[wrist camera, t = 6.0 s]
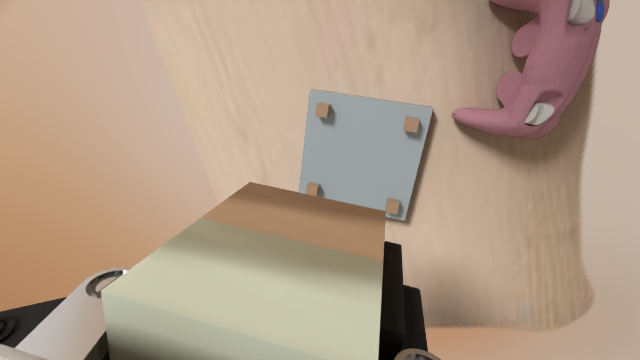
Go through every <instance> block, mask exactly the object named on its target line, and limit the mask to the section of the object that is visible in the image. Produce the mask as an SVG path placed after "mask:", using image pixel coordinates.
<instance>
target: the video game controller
mask: <svg viewBox="0 0 640 360" xmlns="http://www.w3.org/2000/svg"><path fill="white" fill-rule="evenodd" d="M490 1H492V2H493V3H496V4H498V5H500V6H503V7H507V8H512V9H516V10H521V11H529V12H534V13H536V14H537V17H536V18H535V19H533V20H532V21H530V22H528V23H527V24H525V25H523V26H522V27H521V28H520V29H519V30H518V31H517V32H516V34H515V36H514V38H513V41H512V53H513V54H514V55H515V56H516V57H521V58H526V59H527V60H526V63H525V66H524V70H523V73H522V72H519V71H509V72H507V73H506V74H505V75H504V76H503V77H502V78H501V79H500V81H499V83H498V85H497V88H496V95H497V97H498V99H499V100H500V101H501V102H502V104H503V105H504V106H505V107H504V108H502V109H493V110H487V109H473V108H465V109H458V110H455V111H454V112H453V113H452V117H453V118H454V119H455V120H456V121H458V122H460V123H461V124H463V125H466V126H470V127H473V128H476V129H479V130H482V131H485V132H489V133H493V134H499V135H506V136H512V137H521V138H540V137H543V136H545V135H546V134H548V133H549V132H550V131H552V130H553V129H554V128H555V127H556V125H557V124H558V123H559V121H560V119H561V116H562V113H563V111H564V110H565V109H566V108H567V107H568V105H569V104H570V102H571V101H572V99H573V98H574V97H575V95H576V93H577V91H578V90H579V88H580V86H581V84H582V83H583V81H584V79H585V76H586V74H587V72H588V70H589V68H590V65H591V63H592V60H593V57H594V55H595V52H596V48H597V45H598V41H599V37H600V32H601V25H602V22H603V20H604V19H605V17H606V15H607V12H608V8H609V0H490Z"/></svg>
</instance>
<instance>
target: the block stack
mask: <svg viewBox="0 0 640 360" xmlns="http://www.w3.org/2000/svg"><path fill="white" fill-rule="evenodd" d="M385 218H386V211H383V210H378V209H373V208H369V207H364V206H359V205H355V204H350V203H345V202H341V201H336V200H331V199H327V198H322V197H317V196H313V195H308V194H303V193H299V192H294V191H289V190H285V189H280V188H275V187H271V186H266V185H261V184H256V183H252V182H249V183H248V184H247V185H245V186H244V187H243V188H241V189H240V190H238V191H237V192H236V193H234V194H233V195H232V196H230V197H229V198H227V199H226V200H225V201H223V202H222V203H221V204H219V205H218V206H216V207H215V208H214V209H212V210H211V211H210V212H208V213H207V214H206V215H204V216H203V217H202V218H200V219H199V220H197V221H196V222H194V223H193V224H192V225H190V226H189V227H188V228H186V229H185V230H183V231H182V232H181V233H179V234H178V235H177V236H175V237H174V238H172V239H171V240H170V241H168V242H167V243H166V244H164V245H163V246H162V247H160V248H159V249H158V250H156V251H155V252H153V253H152V254H150V255H149V256H148V257H146V258H145V259H144V260H142V261H141V262H139V263H138V264H137V265H135V266H134V267H133V268H131V269H130V270H128V271H127V272H126V273H124V274H123V275H122V276H120V277H119V278H117V279H116V280H115V281H113V282H112V283H111V284H109V285H108V286H106V287H105V288H104V289H102V290H101V296H102V303H103V310H104V318H105V325H106V333H107V340H108V348H109V355H110V360H378V354H379V335H380V315H381V296H382V276H383V257H384V237H385Z"/></svg>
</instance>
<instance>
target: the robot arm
mask: <svg viewBox="0 0 640 360" xmlns="http://www.w3.org/2000/svg"><path fill="white" fill-rule="evenodd" d="M130 269H131V268H128V267H116V268H110V269H106V270H103V271H100V272H98V273H96V274H94V275H92V276H90V277H89V278H87V279H86V280H85V281H83V283H81V284H80V285H79V286H78V287H77V288H76V289H75V290H74V291H73V292H72V293H71V294H70V295H69V296H68V297H65V298H60V299H56V300H51V301H47V302H42V303H38V304H34V305H29V306H24V307H20V308H15V309H11V310H6V311H2V312H0V360H110V355H109V348H108V340H107V333H106V325H105V318H104V310H103V303H102V296H101V290H102V289H104V288H105V287H106V286H108V285H109V284H111V283H112V282H113V281H115V280H116V279H117V278H119V277H120V276H122V275H123V274H124V273H126V272H127V271H128V270H130ZM378 360H441V359H439V358H438V357H436V356H435V355H433V354H431V353H429V352H428V349H427V341H426V333H425V325H424V317H423V309H422V302H421V294H420V290H419V289H418V288H414V287H410V286H406V285H403V271H402V251H401V245H400V244H395V243H391V242H387V241H385V242H384V257H383V276H382V296H381V315H380V335H379V354H378Z"/></svg>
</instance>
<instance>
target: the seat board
mask: <svg viewBox="0 0 640 360" xmlns="http://www.w3.org/2000/svg"><path fill="white" fill-rule="evenodd" d="M432 111H433V108H432V107H429V106H422V105H415V104H409V103H402V102H395V101H389V100H382V99H375V98H369V97H362V96H355V95H349V94H342V93H335V92H329V91H322V90H315V89H312V90H310V95H309V104H308V113H307V122H306V131H305V140H304V149H303V158H302V167H301V176H300V185H299V193H303V194H308V195H313V196H317V197H322V198H327V199H331V200H336V201H341V202H345V203H350V204H355V205H359V206H364V207H369V208H373V209H378V210H383V211H386V217H388V218H393V219H398V220H402V221H405V218H406V214H407V210H408V206H409V202H410V198H411V194H412V190H413V186H414V182H415V178H416V174H417V170H418V167H419V163H420V159H421V155H422V151H423V147H424V143H425V139H426V135H427V131H428V127H429V123H430V119H431V115H432Z"/></svg>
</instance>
